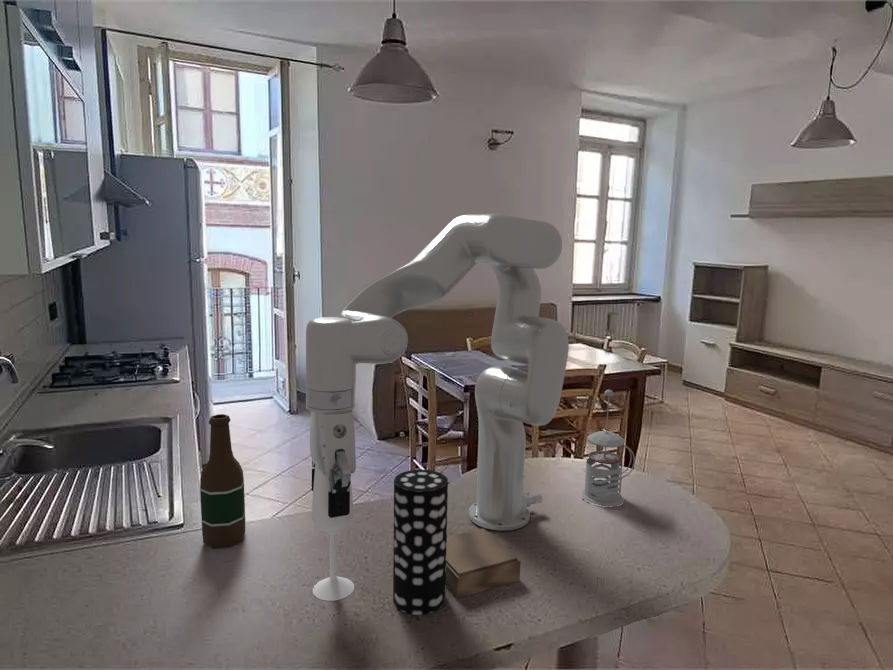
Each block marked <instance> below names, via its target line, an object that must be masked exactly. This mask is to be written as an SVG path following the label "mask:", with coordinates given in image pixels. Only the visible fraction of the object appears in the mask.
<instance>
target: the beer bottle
mask: <svg viewBox="0 0 893 670" xmlns="http://www.w3.org/2000/svg"><path fill="white" fill-rule="evenodd" d="M230 422H231V417H230V415H227V414H224V413H219V414H214V415H211V416H210V418H209V419H208V424H209V426H210V431H209V432H210V435H209V437H210V439H209V440H210V441H209V447H210V448H209V458H208V461H207V462H206V463H205V466H204V468H203V469H202V473H201V475H200V479H199V482H200V483H199V493H200V496H199V497H200V513H201V517H200V518H201V533H202V542H203V544H204V545H205V546H207V547H210V548H211V549H215V550H216V549H226V548H231V547H233V546H235V545H238V544H239V543H242V542H243V540H244V537H245V533H246V505H245V504H246V502H245V500H246V499H245V478H244V470H243V468H242V466H241V464H240V462H239V461H238V460H237V459H236V457H234V452H233V450H232V448H233V447H232V441H231V431H230V430H231V429H230Z"/></svg>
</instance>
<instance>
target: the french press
mask: <svg viewBox="0 0 893 670" xmlns="http://www.w3.org/2000/svg"><path fill="white" fill-rule="evenodd" d="M604 396H607V399H608V400H607V413H606V427H605V428H606V429H605V430H598V431H595V432H592V433H590V434H588V435H587V436H586V438H587V441H588V442H589V443H590V444H591V445H594V446H597V447H604V450H594V451H593V450H592V451H591V452H589V453H588V454H587V456H588V458H587V460H586V461H585V462H586V463H585V479H584V489H583V490H582V491H581V492H582V494H581V495H582V497H583V498H584V499H585V500H586V501H589V502H591V503H594V504H598V505H601V506H617V505H620V504H622V503H623V501H624V502H625V499H624V497H623V495H622V494H621V492H622V480H623V479H624V478H625V477H627V476H629V475H630V474H631V473H632V471H633V469H634V467H635V461H636V457H635V454H634V451H632V449H631V448H630V447H629V446H628V445H626V444H625V442H626V440H625V439H624V438H623V437H622V436H620V435H619V434H617V433H615V432H612V431H609V430H608V422H609V420H608V419H609V406H610V405H609V404H610V397H613V396H614V392H613V390H612V389H606V390H605V391H604ZM606 448H611V449H612V448H619V451H621V453H623V452H624V451H625V448H626V449H627V450H628V451H629V455H630V456H629V458H630V460H629V464H628V466H627V468H626V469H625V470H624V471H623V464H622V463H620V462H621V460H622V457H621V456H620V455H619V454H617V453H615V452H611V451H606ZM632 459H633V462H632ZM596 463H598V464H596ZM631 464H632V466H631ZM593 465H594V466H593ZM630 466H631V469H630V471H629V472H628V473H627V474H625V473H626V472H627V471H628V470H629V468H630ZM601 467H602V468H601ZM603 468H604V469H603ZM623 474H624V475H623ZM622 475H623V476H622ZM623 504H624V503H623ZM623 504H622V505H623ZM620 506H621V505H620ZM617 507H618V506H617Z"/></svg>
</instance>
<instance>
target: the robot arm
mask: <svg viewBox="0 0 893 670" xmlns="http://www.w3.org/2000/svg"><path fill="white" fill-rule="evenodd" d="M562 249H563V240H562V236H561V234H560V232H559V230H558V229H557V228H556V227H555V226H554V225H553V224H552V223H550V222H547V221H543V220H536V219H531V218H525V217H519V216H513V215H509V214H502V213H475V214H474V213H471V214H470V213H469V214H468V213H467V214H462V215H458V216H456V217H455V218H453V219H452V220H451V221H450V222H448V224H446V226H445V227H444V228H442V230H440V232H438V234H437V235H435V237H434V238H432V239H431V241H430V242H429V243H428V244H427V245H426V246H425V247H424V248H423V249H422V250H421V251H420V252H419V253H418V254H417V255H415V257H414V258H413V259H412V260H411V261H409V262H408V263H406V264H405V265H403V266H401V267H399V268H397V269H395V270H394V271H392V272H391V273H388V274H386V275H384V276H383V277H382V278H379V279H378V280H376V281H375V282H373V283H371V284H369V285H367V287H365V288H364V289H363V290H362V291H360V292H359V293H358V294H357V295H356V296H354V298H353V299H352V300H351V301H350V302H349V303H348V304H347V305H345V307H344V308H343V309H342V310H341V311H340V312H339V313H338V315H337V316H326V317H324V316H323V317H316V318H312V319H311V320H309V321H308V322H307V325H306V328H305V409H306V410H307V411H309V412H310V422H309V423H310V424H309V425H310V426H309V428H310V429H309V449H310V452H309V453H310V457H311V467H312V468H311V492H313V487H314V475H315V463H316V462H317V464H318V467H319V470H320V471H321V472H322V473H323V474H324V475H325V476H327V477H328V479H329V484H330V490H331V491H329V492H328V516H329V517H330V518H334V517H339V516H345V515H348V514H349V513H350V484H351V485H352V480H351V481H350V478H351V476H352V474H354V473H355V472H356V468H357V467H356V466H357V465H356V464H357V462H356V461H357V460H356V457H357V455H356V436H355V435H356V431H355V422H354V414H353V410H354V409H355V408H356V385H357V384H356V381H357V379H356V378H357V374H356V373H357V365H358V364H370V365H383V364H384V365H385V364H388V363H389V364H390V363H393V362H395V361H396V360H399V358H401V357H402V356H403V354H404V353H405V352H406V350H407V347H408V343H409V339H408V338H409V337H408V332H407V331H406V329H405V327H404V326H403V325H402V324H401V323H400V322H399V321H397V320H396V319H394V318H393V317H394V316H397V315H398V314H401V313H403V312H405V311H408V310H410V309H414V308H419V307H423V306H427V305H430V304H431V305H432V304H433V303H436V302H439V301H441V300H443V299H445V298H447V297H448V296H449V294H450V293H452V291H453V290H454V289H455V287H456V286H457V285H459V283H460V282H461V281H462V280H463V278H465V277H466V276H467V274H468V273H469V272H470V271H471V270H472V269H473V268H474V267H475V266H476V265H477V264H478V265H479V264H489V265H490V266H491V267H490V268H492V271H493V273H494V275H495V277H496V278H495V279H496V280H497V281H496V282H497V286H498V287H497V288H498V290H497V291H498V292H497V301H496V307H495V313H494V319H493V326H492V330H491V337H490V338H491V339H490V341H491V342H490V348H491V351H492V352H493V354H494V355H495V356H496V357H498V358H500V359H503V360H506V361H510V362H512V363H517V364H522V365H526V366H528V370H527V371H524V370H520V369H516V368H512V367H508V366H503V365H502V366H500V365H499V366H497V365H495V366H490V367H488V368H486V369H484V370H482V372H481V373H480V374H479V376H478V377H477V379H476V382H475V386H474V397H475V405H476V409H477V410H476V411H477V417H478V445H477V447H478V449H477V473H476V475H477V476H476V477H477V480H476V501H475V502H473V503H472V504H471V505H470V506H469V508H468V518H469V520H471V522H473V523H474V524H475V525H476V526H479V527H481V528H482V529H483V528H484V529H485V530H486V529H487V530H492V531H498V532H499V531H502V532H504V531H515V530H518V529H521V528H522V527H524V526H526V525H527V524H528V523H529V522H530V518H531V515H530V514H531V513H530V511H529V509H528V508H530V506H531V505H536V504H537V505H538V504H540V503H542V502H543V496H542V495H541V494H542V493H541V494H540V493H535V494H531V493H530V491H524V487H525V486H524V484H525V483H524V482H525V481H524V480H525V479H524V478H525V464H526V463H525V462H526V461H525V459H526V443H527V442H526V441H527V438H526V431H525V430H526V429H525V426H524V424H526V425H532V426H535V427H537V426H538V427H541V426H545V425H548V424H549V423H550V422H551V421H552V420H553V419H554V417H555V416H556V414H557V411H558V409H559V406H560V401H561V397H562V391H563V386H564V382H565V381H564V380H565V375H566V370H567V369H566V367H567V362H568V357H569V349H570V347H569V345H570V343H569V337H568V333H567V330H566V329H565V327H564V326H563V324H561V322H559V321H557V320H555V319H552V318H546V317H541V316H540V307H541V298H542V286H541V282H540V280H539V276H538V275H537V273H536V271H535V269H536V270H541V269H542V270H544V269H547V268H549V267H551V266H553V265H554V264H556V262H557V261H558V259H559V258H560V257H561V253H562ZM539 316H540V317H539ZM333 469H339V471H332V470H333ZM334 477H340V479H338V480H337V482H336V484H335V481H334Z"/></svg>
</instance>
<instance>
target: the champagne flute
mask: <svg viewBox="0 0 893 670" xmlns="http://www.w3.org/2000/svg"><path fill="white" fill-rule="evenodd" d="M332 471H339V469H333V470H332ZM338 479H340V477H334V481H335V484H336V482H337V480H338ZM350 481H351V482H352V479H351V477H350ZM329 491H331V490H330V484H329V479H328V477H327V476H325V475H324V474H323V473H322V472H321V471H320V470H319V467H318V464H317V462H316V463H315V475H314V487H313V491H312V500H311V501H312V502H311V514H310V515H311V520H312V521H313V523H314V524H315V525H316V527H317V528H318V529H320V530H321V531H322V532H324V533H325V534H327V535H329V537H328V538H329V539H328V540H329V541H328V543H329V544H328V546H329V550H328V551H329V576H328V577H326V578H323V579H321V580H319V581H318V582H316V583H317V584H316V583H315V584H316V585H315V584H314V586H313V587H314V588H313V587H312V594H313V596H315V597H316V598H317V599H319V600H322V601H326V602H327V601H329V602H333V601H340V600H343V599H345V598H347V597H349V596H350V595H352V593H353V592H354V590H355V585H354V583H353V582H352V580H351V579H349V578H346V577H343V576H338V541H337V540H338V537H337V536H338V535H337V534H339V533H341V532H342V531H343V530H344V529H345V528H346V527H348V525H349V524H350V523H351V521H352V519H353V517H354V515H355V509H354V508H355V507H354V500H353V489H352V483H351V484H350V513H349V514H348V515H345V516H339V517H334V518H330V517H329V516H328V492H329Z"/></svg>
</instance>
